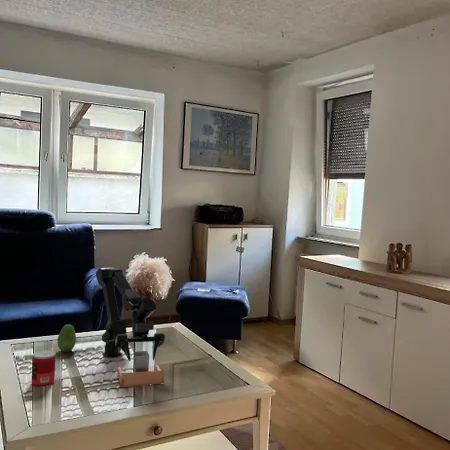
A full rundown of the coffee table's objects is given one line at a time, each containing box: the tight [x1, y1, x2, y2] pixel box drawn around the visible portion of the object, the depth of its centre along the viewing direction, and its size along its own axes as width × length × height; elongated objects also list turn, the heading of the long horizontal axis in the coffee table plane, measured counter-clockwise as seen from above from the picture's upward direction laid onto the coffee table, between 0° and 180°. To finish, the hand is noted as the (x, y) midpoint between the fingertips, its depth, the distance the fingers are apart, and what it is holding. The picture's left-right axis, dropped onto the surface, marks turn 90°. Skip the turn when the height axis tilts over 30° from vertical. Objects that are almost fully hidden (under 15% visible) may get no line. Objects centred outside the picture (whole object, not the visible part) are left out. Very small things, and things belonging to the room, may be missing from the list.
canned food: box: [31, 349, 57, 387], centre depth 172 cm, size 8×8×11 cm
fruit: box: [57, 324, 77, 353], centre depth 206 cm, size 8×8×12 cm
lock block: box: [132, 350, 150, 372], centre depth 180 cm, size 5×5×10 cm
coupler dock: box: [116, 364, 166, 388], centre depth 181 cm, size 12×16×5 cm
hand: (141, 360), depth 179 cm, fingers open, 9 cm apart
